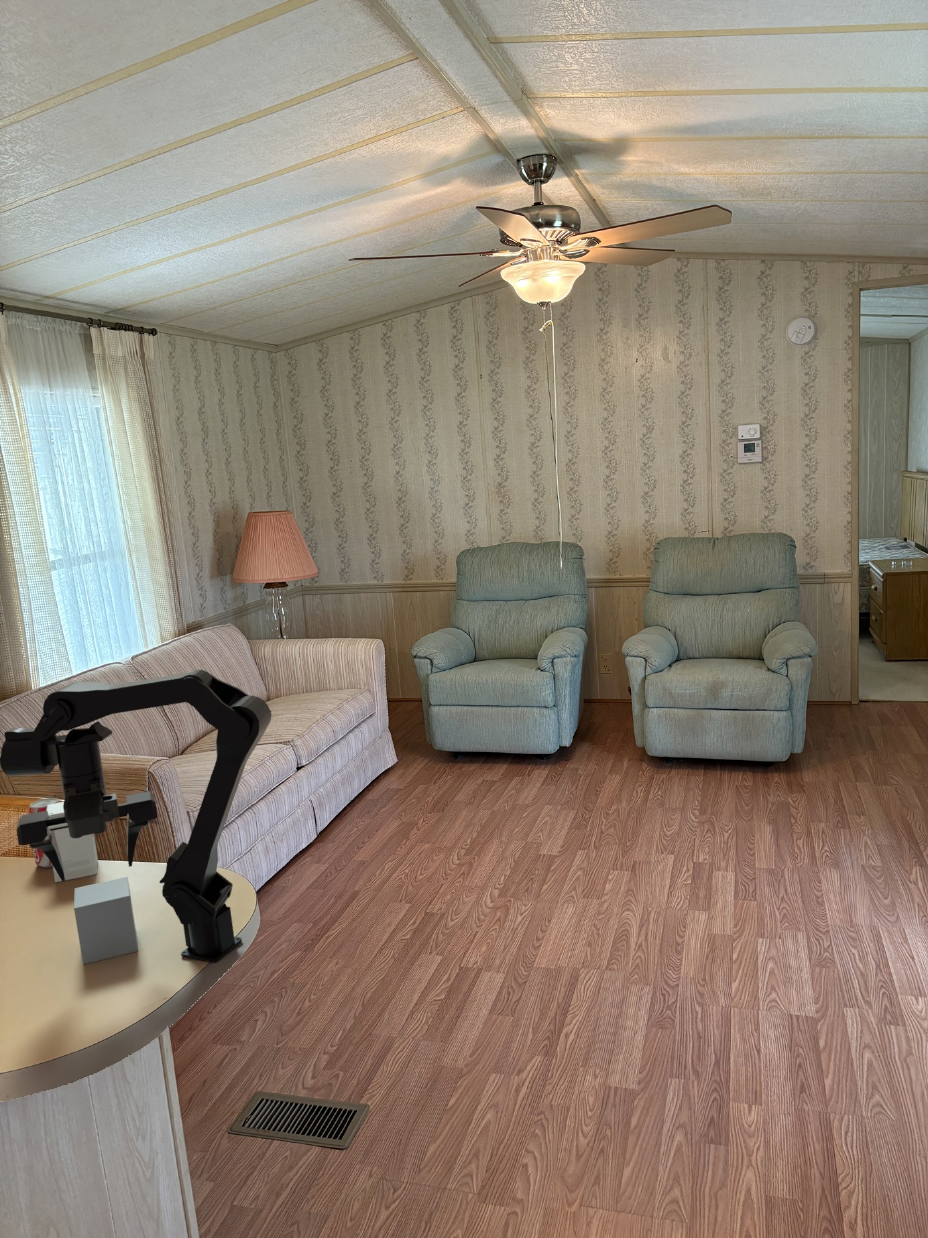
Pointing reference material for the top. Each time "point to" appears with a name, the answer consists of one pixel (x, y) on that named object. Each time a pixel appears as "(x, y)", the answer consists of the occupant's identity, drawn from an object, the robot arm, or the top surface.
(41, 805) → the beverage can
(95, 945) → the pale grey box
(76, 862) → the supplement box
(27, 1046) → the top surface
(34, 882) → the top surface
